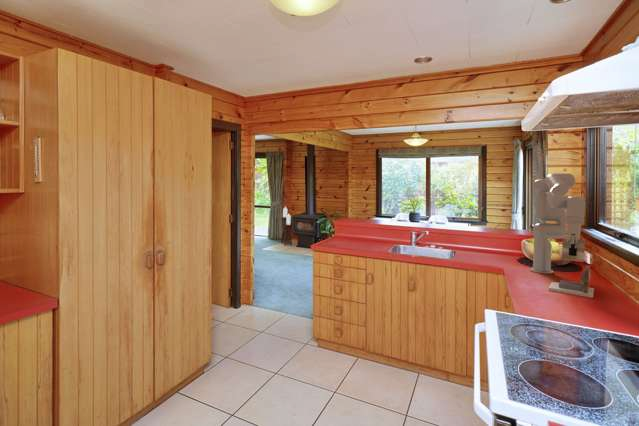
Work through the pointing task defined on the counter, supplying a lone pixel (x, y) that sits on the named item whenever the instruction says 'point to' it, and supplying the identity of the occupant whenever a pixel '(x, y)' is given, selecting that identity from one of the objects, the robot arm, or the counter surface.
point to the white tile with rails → (570, 288)
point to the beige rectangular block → (580, 250)
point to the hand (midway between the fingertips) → (572, 254)
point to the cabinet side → (585, 279)
